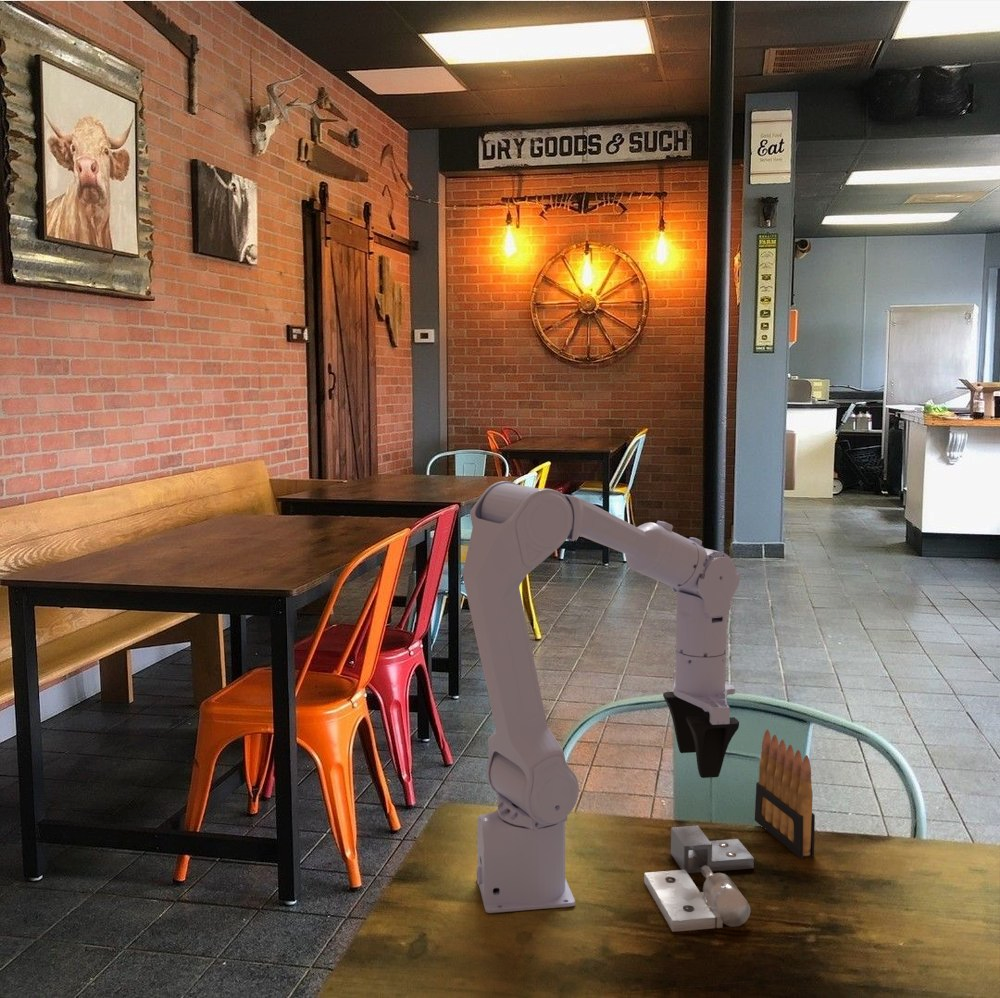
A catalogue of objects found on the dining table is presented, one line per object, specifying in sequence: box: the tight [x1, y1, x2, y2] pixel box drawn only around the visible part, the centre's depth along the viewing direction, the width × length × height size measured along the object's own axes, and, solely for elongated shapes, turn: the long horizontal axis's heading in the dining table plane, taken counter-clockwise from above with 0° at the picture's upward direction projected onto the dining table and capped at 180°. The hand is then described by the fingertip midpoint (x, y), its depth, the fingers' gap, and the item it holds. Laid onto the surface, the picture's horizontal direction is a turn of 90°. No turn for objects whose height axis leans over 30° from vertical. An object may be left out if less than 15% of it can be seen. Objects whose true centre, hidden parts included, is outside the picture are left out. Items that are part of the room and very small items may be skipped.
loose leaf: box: [670, 825, 755, 874], centre depth 116 cm, size 8×5×3 cm, turn 98°
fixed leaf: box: [643, 866, 751, 933], centre depth 107 cm, size 8×10×3 cm
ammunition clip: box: [754, 729, 816, 859], centre depth 122 cm, size 11×2×12 cm, turn 15°
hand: (698, 763), depth 120 cm, fingers open, 7 cm apart
